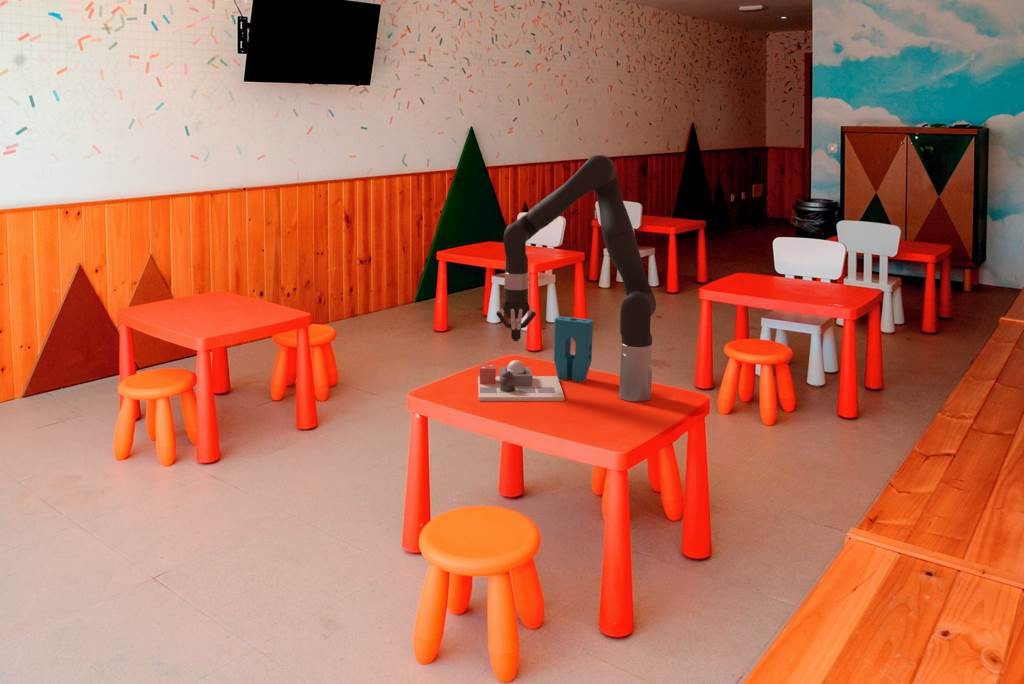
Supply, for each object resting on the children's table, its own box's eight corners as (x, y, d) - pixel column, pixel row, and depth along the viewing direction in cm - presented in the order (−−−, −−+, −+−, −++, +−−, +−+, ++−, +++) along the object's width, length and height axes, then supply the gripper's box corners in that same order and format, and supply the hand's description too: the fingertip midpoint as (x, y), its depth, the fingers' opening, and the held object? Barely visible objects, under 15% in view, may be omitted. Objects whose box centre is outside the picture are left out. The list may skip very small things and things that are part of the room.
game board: (557, 379, 297) (557, 375, 297) (564, 400, 276) (564, 396, 276) (477, 379, 296) (477, 376, 296) (478, 401, 275) (478, 396, 274)
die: (495, 379, 293) (495, 364, 291) (495, 384, 288) (495, 368, 286) (479, 379, 292) (479, 364, 291) (479, 384, 287) (479, 368, 286)
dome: (523, 373, 293) (524, 357, 292) (524, 378, 287) (525, 362, 286) (506, 373, 293) (506, 357, 291) (507, 378, 287) (507, 362, 286)
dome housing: (530, 377, 296) (530, 366, 295) (532, 386, 286) (532, 375, 285) (499, 377, 295) (499, 366, 294) (500, 386, 285) (500, 375, 285)
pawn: (514, 387, 284) (514, 369, 282) (514, 392, 280) (515, 373, 278) (500, 387, 284) (500, 369, 282) (500, 392, 279) (500, 373, 278)
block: (591, 379, 298) (593, 320, 293) (586, 383, 294) (588, 323, 289) (557, 374, 303) (559, 316, 298) (552, 378, 299) (553, 319, 294)
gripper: (536, 284, 286) (535, 337, 291) (494, 284, 285) (494, 337, 290) (538, 288, 279) (537, 343, 283) (495, 289, 278) (495, 343, 283)
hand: (515, 340), depth 287 cm, fingers closed
